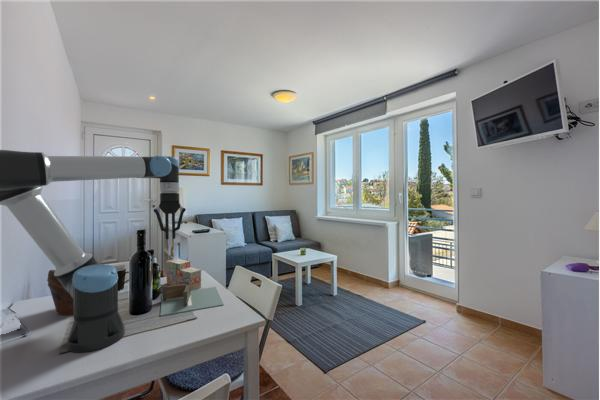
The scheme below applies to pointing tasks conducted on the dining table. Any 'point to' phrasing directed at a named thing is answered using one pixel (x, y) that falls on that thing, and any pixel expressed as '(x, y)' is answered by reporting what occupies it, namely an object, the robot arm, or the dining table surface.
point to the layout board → (192, 301)
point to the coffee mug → (121, 277)
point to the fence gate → (186, 295)
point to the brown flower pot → (60, 295)
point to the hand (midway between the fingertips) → (170, 246)
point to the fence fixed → (174, 291)
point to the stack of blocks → (182, 273)
